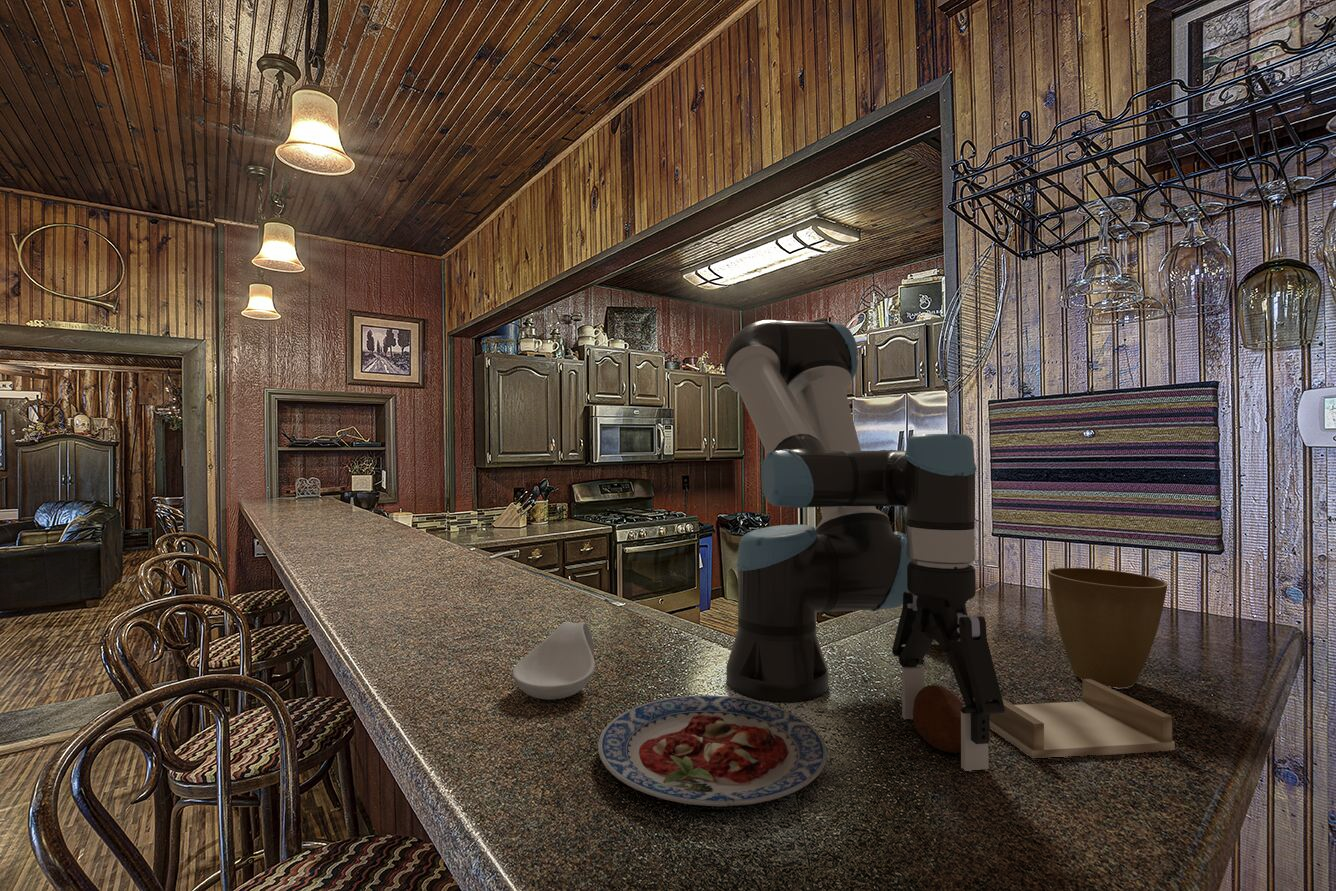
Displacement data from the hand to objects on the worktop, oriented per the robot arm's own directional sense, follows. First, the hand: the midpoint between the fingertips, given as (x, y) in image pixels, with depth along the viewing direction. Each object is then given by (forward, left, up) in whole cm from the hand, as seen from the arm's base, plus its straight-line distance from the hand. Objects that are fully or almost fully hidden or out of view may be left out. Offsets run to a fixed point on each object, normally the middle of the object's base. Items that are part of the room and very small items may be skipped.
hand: (941, 741), depth 74 cm
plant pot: (+36, +16, 0) cm, 39 cm away
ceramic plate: (-28, 0, -1) cm, 28 cm away
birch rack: (+17, +1, 0) cm, 17 cm away
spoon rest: (-46, +27, -1) cm, 54 cm away
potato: (0, 0, 0) cm, 0 cm away
